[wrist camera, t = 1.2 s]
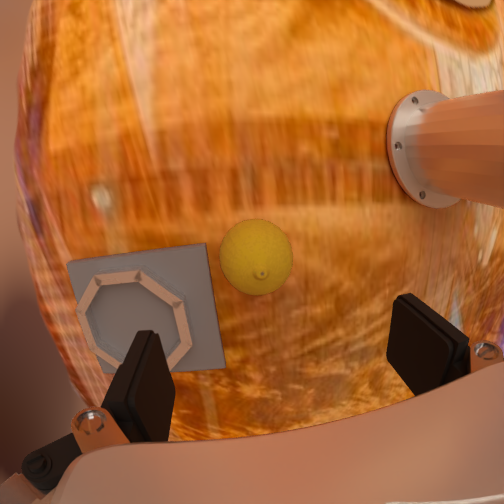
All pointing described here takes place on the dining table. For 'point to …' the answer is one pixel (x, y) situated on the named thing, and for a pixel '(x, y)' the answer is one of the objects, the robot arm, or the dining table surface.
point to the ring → (151, 283)
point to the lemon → (256, 257)
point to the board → (155, 303)
